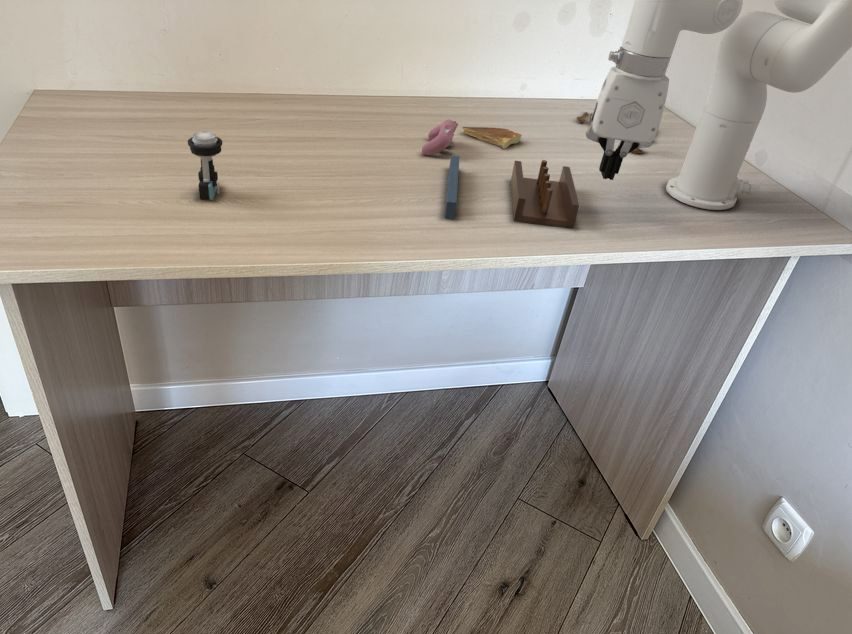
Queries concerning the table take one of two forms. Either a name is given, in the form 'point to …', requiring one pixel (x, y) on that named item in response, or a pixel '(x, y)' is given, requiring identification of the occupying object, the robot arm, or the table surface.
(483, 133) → the golden brown flat wedge
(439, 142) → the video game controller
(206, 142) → the push button
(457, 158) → the bar
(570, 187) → the rack
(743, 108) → the robot arm
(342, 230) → the table surface
